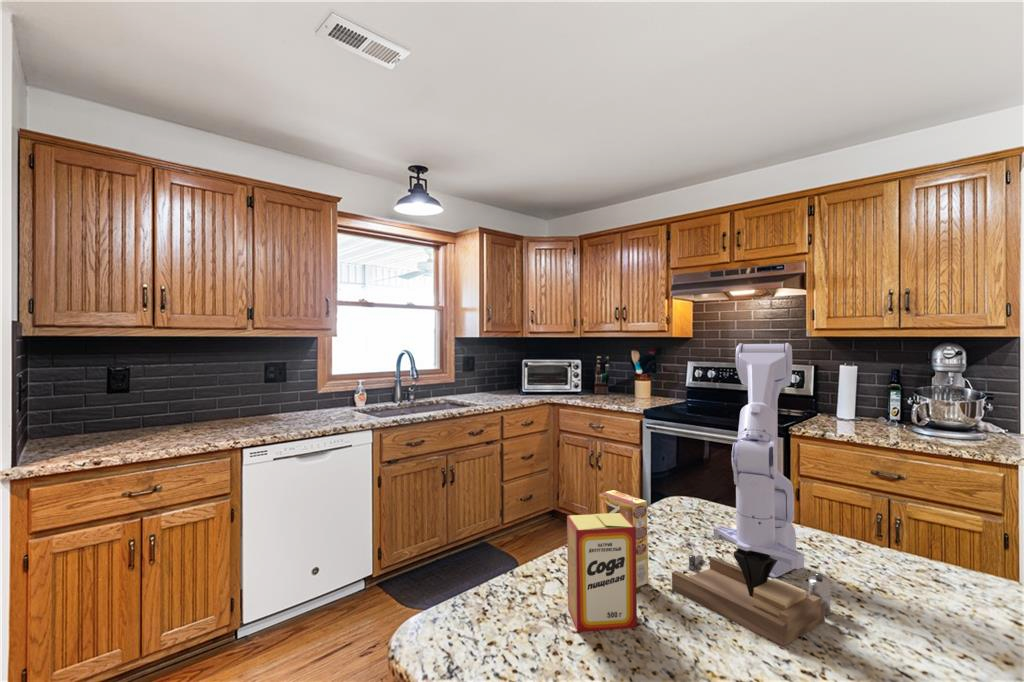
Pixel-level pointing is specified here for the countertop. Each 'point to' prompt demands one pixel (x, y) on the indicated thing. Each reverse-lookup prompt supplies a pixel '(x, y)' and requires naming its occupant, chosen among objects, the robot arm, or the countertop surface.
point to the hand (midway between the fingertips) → (756, 595)
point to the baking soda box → (601, 572)
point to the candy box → (637, 516)
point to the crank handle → (694, 561)
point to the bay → (747, 602)
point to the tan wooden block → (776, 597)
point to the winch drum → (820, 590)
